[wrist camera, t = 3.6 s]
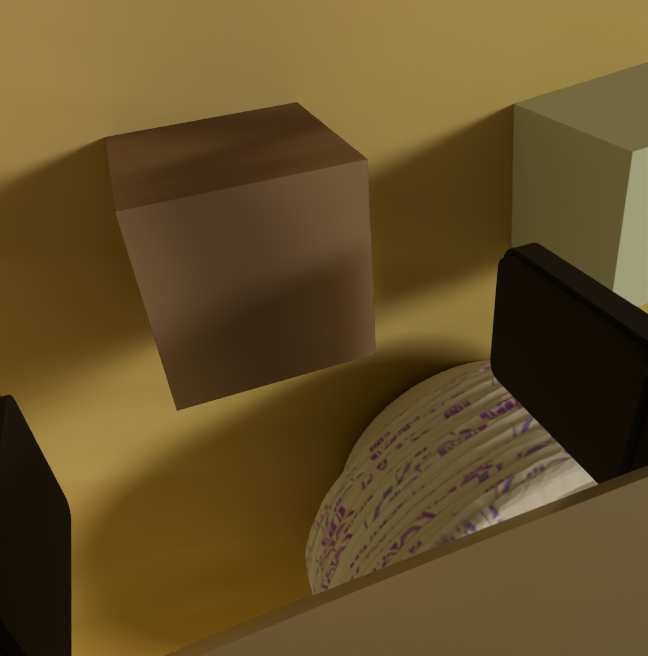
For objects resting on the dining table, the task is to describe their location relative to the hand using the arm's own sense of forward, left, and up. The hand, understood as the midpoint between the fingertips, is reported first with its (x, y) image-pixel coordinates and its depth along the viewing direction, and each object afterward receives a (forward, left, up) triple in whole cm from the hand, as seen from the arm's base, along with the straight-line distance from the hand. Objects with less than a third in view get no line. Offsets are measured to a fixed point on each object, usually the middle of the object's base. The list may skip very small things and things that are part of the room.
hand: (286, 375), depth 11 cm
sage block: (-12, +1, -7) cm, 14 cm away
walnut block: (0, 0, -7) cm, 7 cm away
